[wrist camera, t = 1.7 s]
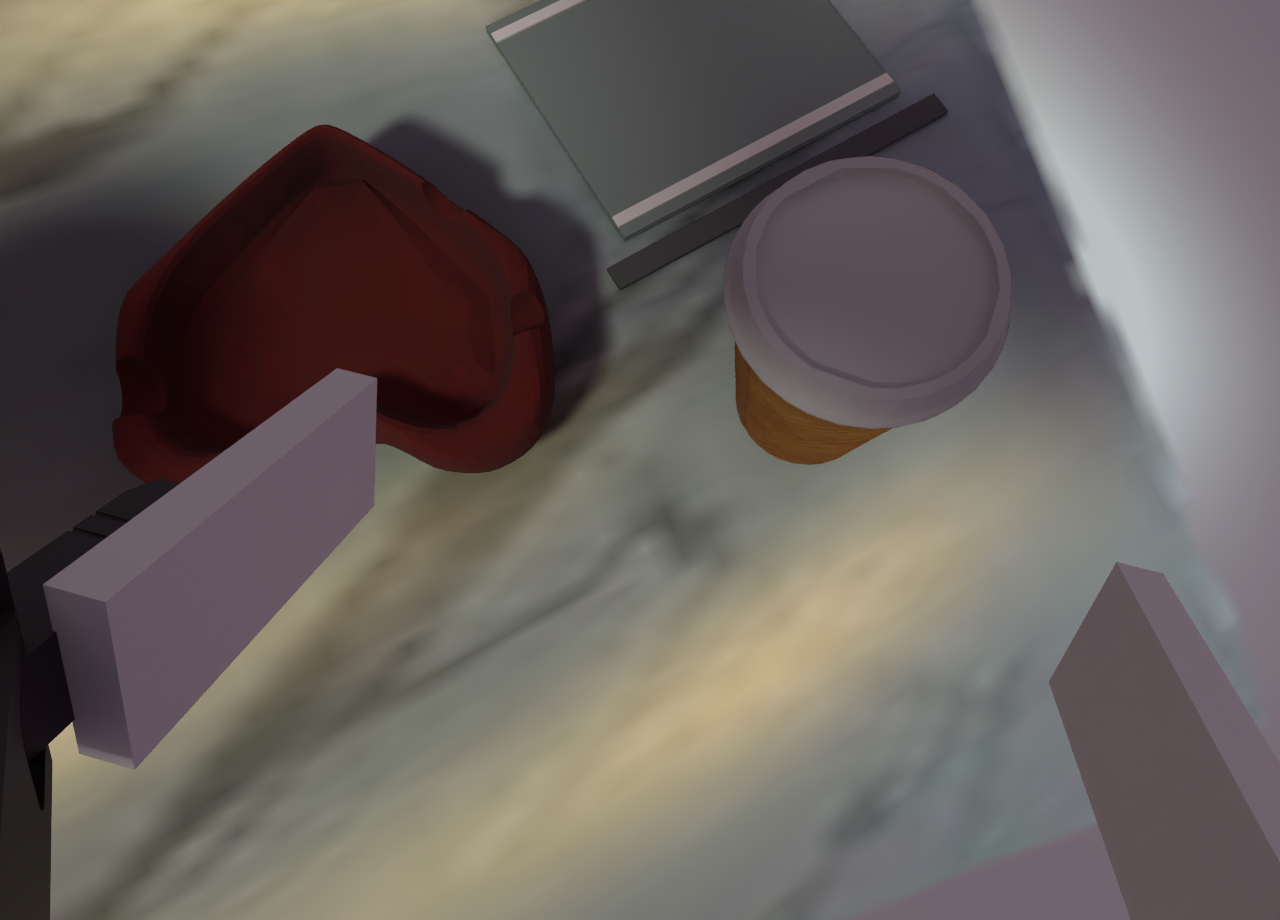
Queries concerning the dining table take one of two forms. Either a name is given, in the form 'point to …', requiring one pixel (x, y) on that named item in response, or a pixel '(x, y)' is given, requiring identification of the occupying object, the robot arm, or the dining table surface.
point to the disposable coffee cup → (861, 305)
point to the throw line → (743, 206)
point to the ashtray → (335, 317)
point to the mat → (685, 91)
